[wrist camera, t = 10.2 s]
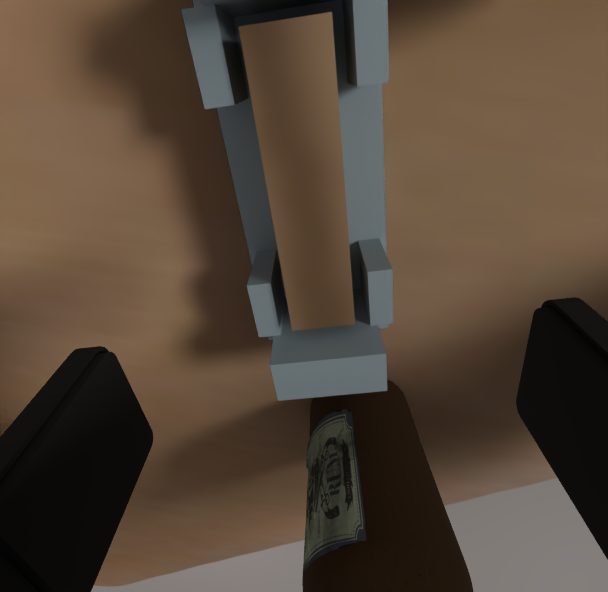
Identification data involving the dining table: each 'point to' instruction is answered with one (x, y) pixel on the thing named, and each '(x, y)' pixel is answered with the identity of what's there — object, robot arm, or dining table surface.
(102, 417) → the robot arm
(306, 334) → the grey bracket base
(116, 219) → the dining table surface
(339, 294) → the rail
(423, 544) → the olive oil
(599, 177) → the dining table surface
